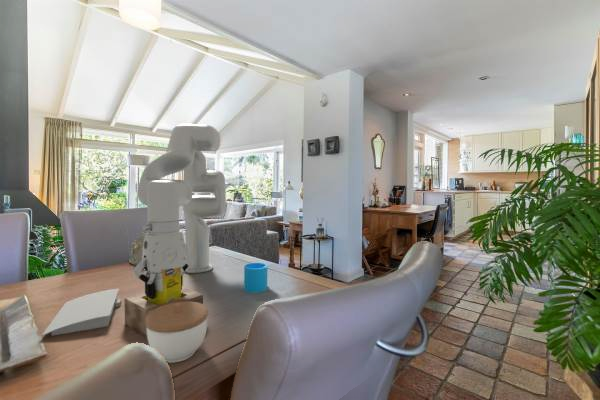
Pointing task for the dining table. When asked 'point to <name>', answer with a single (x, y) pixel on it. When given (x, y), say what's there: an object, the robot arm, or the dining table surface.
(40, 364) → the dining table surface
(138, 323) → the drop box
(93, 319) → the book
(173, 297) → the supplement box
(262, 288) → the mug
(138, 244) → the sand castle
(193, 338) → the lidded bowl
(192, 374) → the dining table surface
